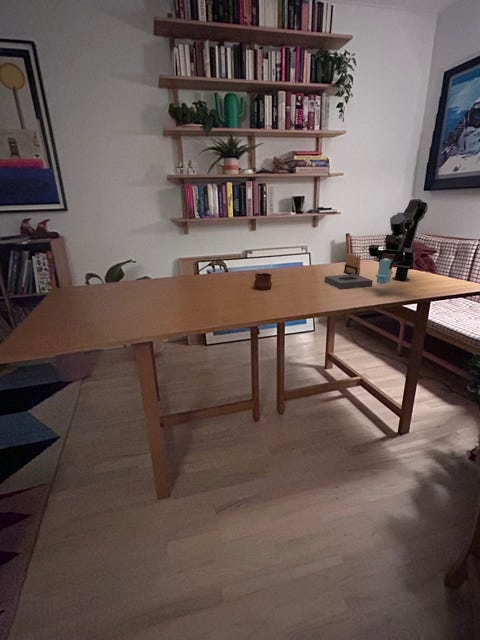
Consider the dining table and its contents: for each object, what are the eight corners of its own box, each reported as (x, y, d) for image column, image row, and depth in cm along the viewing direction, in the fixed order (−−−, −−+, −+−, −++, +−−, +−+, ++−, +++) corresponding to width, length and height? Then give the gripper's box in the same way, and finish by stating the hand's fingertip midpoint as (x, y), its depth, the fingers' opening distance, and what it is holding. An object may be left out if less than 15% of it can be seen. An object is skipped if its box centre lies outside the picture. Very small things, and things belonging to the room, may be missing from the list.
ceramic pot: (259, 281, 164) (259, 268, 161) (288, 288, 153) (289, 274, 150) (236, 289, 151) (236, 275, 148) (266, 297, 141) (266, 282, 138)
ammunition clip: (359, 276, 174) (362, 254, 169) (356, 277, 173) (359, 255, 169) (346, 272, 183) (348, 251, 179) (343, 272, 182) (346, 251, 178)
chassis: (354, 279, 168) (355, 273, 167) (371, 286, 156) (372, 280, 154) (324, 281, 163) (324, 276, 162) (340, 289, 151) (340, 283, 149)
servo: (382, 278, 147) (386, 256, 144) (391, 280, 145) (395, 257, 141) (374, 283, 140) (378, 259, 136) (384, 285, 137) (388, 260, 133)
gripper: (373, 226, 142) (360, 254, 138) (419, 229, 131) (406, 259, 127) (376, 242, 151) (364, 269, 147) (419, 246, 140) (408, 275, 136)
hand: (384, 267), depth 139 cm, fingers closed on servo, 4 cm apart
